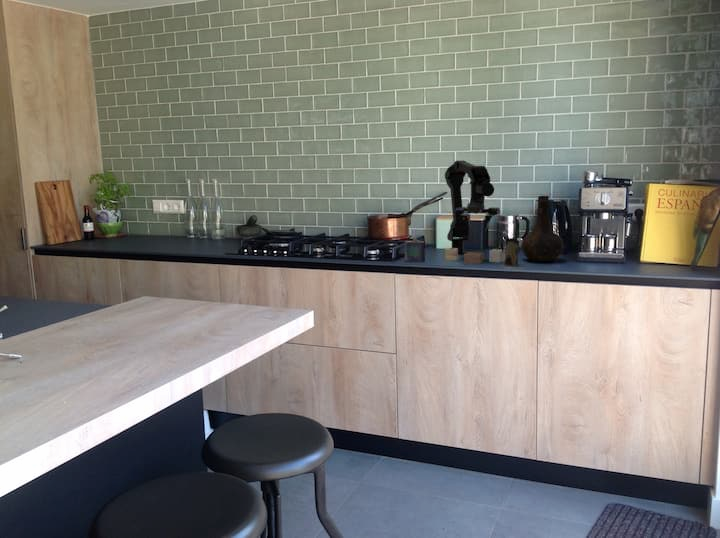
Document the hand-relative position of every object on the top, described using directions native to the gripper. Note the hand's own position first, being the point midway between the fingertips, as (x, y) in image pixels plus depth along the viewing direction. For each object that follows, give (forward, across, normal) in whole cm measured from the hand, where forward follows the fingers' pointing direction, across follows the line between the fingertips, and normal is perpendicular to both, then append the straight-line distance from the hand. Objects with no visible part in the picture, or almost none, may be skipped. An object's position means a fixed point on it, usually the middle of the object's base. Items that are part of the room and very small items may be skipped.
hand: (477, 230), depth 295 cm
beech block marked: (+13, -11, -3) cm, 17 cm away
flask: (+13, -25, -12) cm, 31 cm away
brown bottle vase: (+13, +27, +6) cm, 31 cm away
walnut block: (+13, 0, -6) cm, 15 cm away
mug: (+13, +16, -9) cm, 23 cm away
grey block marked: (+13, +9, -1) cm, 16 cm away
